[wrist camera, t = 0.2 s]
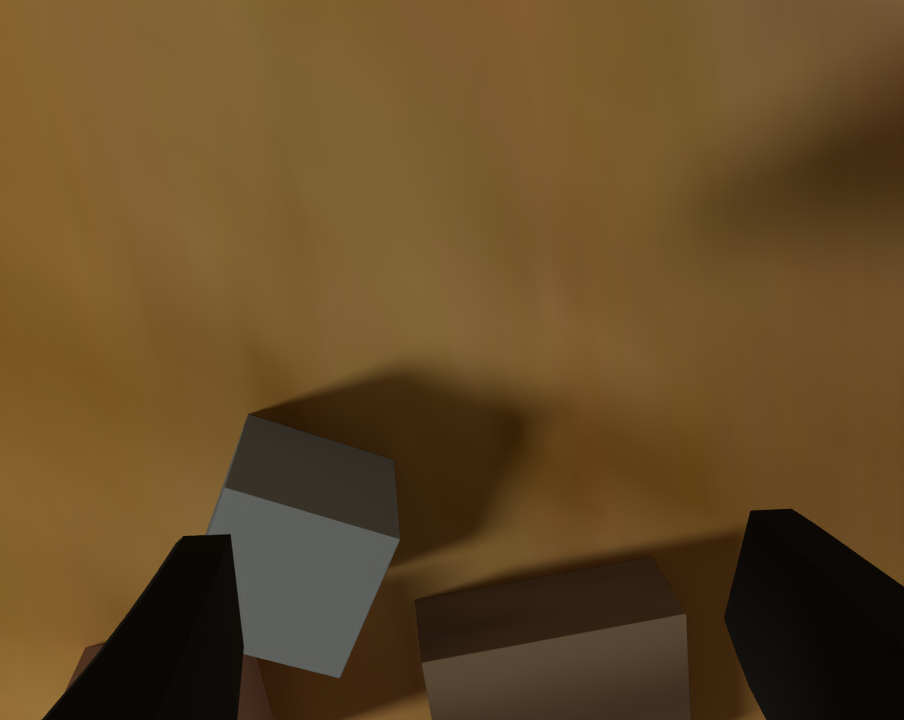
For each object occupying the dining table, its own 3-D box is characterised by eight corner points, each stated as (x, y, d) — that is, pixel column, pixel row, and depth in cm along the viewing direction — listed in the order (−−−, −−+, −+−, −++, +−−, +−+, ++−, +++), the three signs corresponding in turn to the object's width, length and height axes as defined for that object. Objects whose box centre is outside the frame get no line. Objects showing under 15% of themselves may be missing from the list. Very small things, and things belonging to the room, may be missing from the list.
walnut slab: (659, 733, 27) (694, 811, 24) (446, 774, 27) (457, 858, 24) (648, 550, 25) (685, 613, 22) (414, 593, 24) (421, 663, 21)
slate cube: (343, 579, 23) (339, 678, 20) (203, 540, 23) (171, 635, 19) (393, 459, 22) (400, 539, 19) (248, 412, 21) (225, 487, 18)
